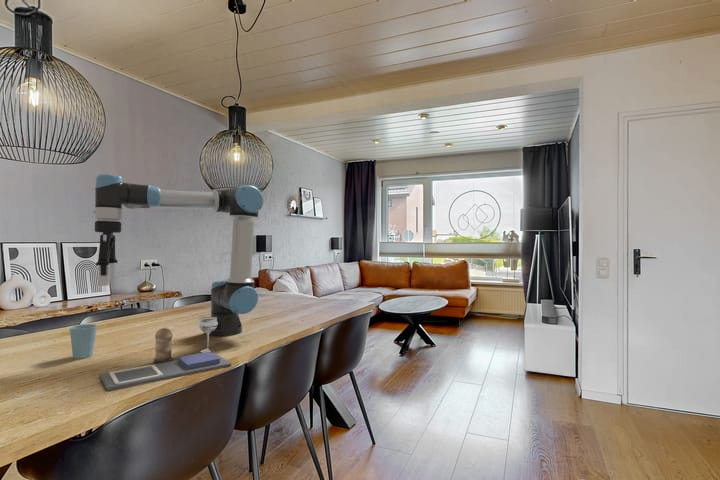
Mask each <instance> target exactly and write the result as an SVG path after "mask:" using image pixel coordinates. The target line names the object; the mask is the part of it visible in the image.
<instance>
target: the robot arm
mask: <svg viewBox="0 0 720 480" xmlns="http://www.w3.org/2000/svg"><path fill="white" fill-rule="evenodd" d="M94 189H95V190H94V191H95V192H94V195H95V196H94V197H95V198H94V199H95V202H94V207H95V208H94V209H95V210H94V209H93V210H92V213H93V214H94V218H95V220H96V221H95V222H94V232H96V233H102V234H100V236H99V250H98V257H97V259H98V260H97V262H95V266H98V287H104V286H107V287H108V286H110V282H115V280H116V279H115V278H116V276H115V275H116V274H115V273H116V264H118V259H117V258H116V235H115V234H114V233H117V234H118V233H122V222H121V221H122V220H123V217H122V215H123V214H122V213H123V208H122V206H123V207H125V208H127V209H173V210H174V209H175V210H176V209H177V210H179V209H180V210H211V212H213V213H225V214H229V218H230V219H231V220H232V234H231V235H232V236H231V252H230V253H231V254H230V268H229V270H230V271H229V273H230V274H229V277H228V278H227V279H226V280H219V281H213V282H212V284H211V289H210V293H211V295H210V299H211V300H210V317H217V318H218V319H217V321H218V326H217V328H216V329H215V330H214V331H212V332H210V334H209V336H217V337H218V336H219V337H222V336H232V335H237V334H241V333H242V332H243V325H242V321H241V318H240V315H245V314H246V315H247V314H249V313H250V312H252V311H253V310H254V309H255V308H256V306H257V304H258V302H259V294H258V292H257V290H256V289H255V280H254V279H253V278H252V268H253V267H252V265H253V263H252V262H253V248H254V247H253V246H254V229H255V222H256V221H257V220H258V219H259V211H261V209H262V208H263V205H264V202H265V201H264V196H263V194H262V192H261V191H260V189H258V188H257V187H256V186H255V185H254V186H253V185H250V184H246V185H245V184H243V185H240V186H236V187H231V188H227V189H220V190H219V189H212V191H194V190H193V191H191V190H174V189H161V188H160V187H158V186H155V185H150V184H140V183H138V184H137V183H128V182H124V180H123V177H122V176H120V175H116V174H108V173H104V174H102V173H101V174H99V175H97V176H96V179H95V188H94Z"/></svg>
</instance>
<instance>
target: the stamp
mask: <svg viewBox="0 0 720 480" xmlns="http://www.w3.org/2000/svg"><path fill="white" fill-rule="evenodd" d="M172 338H173V331H172V330H171V329H169V328H168V327H163V328H160V329H158V330H157V331H156V333H155V336H154V339H155V353H154V354H155V355H154V357H155V358H153V364H159V363H165V362H170V361H174V360H173V359H174V358H173V356H172V350H173V349H172V346H173V345H172V344H173V343H172V341H173V340H172Z"/></svg>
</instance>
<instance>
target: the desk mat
mask: <svg viewBox="0 0 720 480" xmlns="http://www.w3.org/2000/svg"><path fill="white" fill-rule="evenodd" d="M230 366H232V362H230V361H229V360H227V359H225V358H223V357H222V356H220V355H218V354H217V353H216V352H215V353H212V352H204V353H203V352H200V353H194V354H193V353H192V354H187V355H181V356H178V357H177V359H176V360H173V361H170V362H165V363H159V364H154V363H153V364H148V365H144V366H143V365H142V366H137V367H132V368H125V369H120V370H115V371H108V372H104V373H103V372H102V373H100V374H99V376H100V379H101V381H102V383H103V385H104V387H105V389H106V391H107V392H108V391H109V392H110V391H113V390H114V391H115V390H118V389H123V388H129V387H133V386H139V385H143V384H149V383H154V382H157V381H164V380H169V379H173V378H177V377H182V376H188V375H192V374H197V373H202V372H208V371H211V370H216V369H221V368H226V367H230Z"/></svg>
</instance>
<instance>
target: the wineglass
mask: <svg viewBox="0 0 720 480" xmlns="http://www.w3.org/2000/svg"><path fill="white" fill-rule="evenodd" d="M217 319H218V318H217V317H211V316H202V317H200V318H198V321H199V322H198V328H199V330H201V332H203V333H205V334H206V348H204V349H201V350H200V353H204V352H210V353H212V352H215V351H216V350H215V349H214V348H209V342H210V335H209V334H210V332H212V331H214V330H215V329H216V328H217V326H218V321H217Z"/></svg>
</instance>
